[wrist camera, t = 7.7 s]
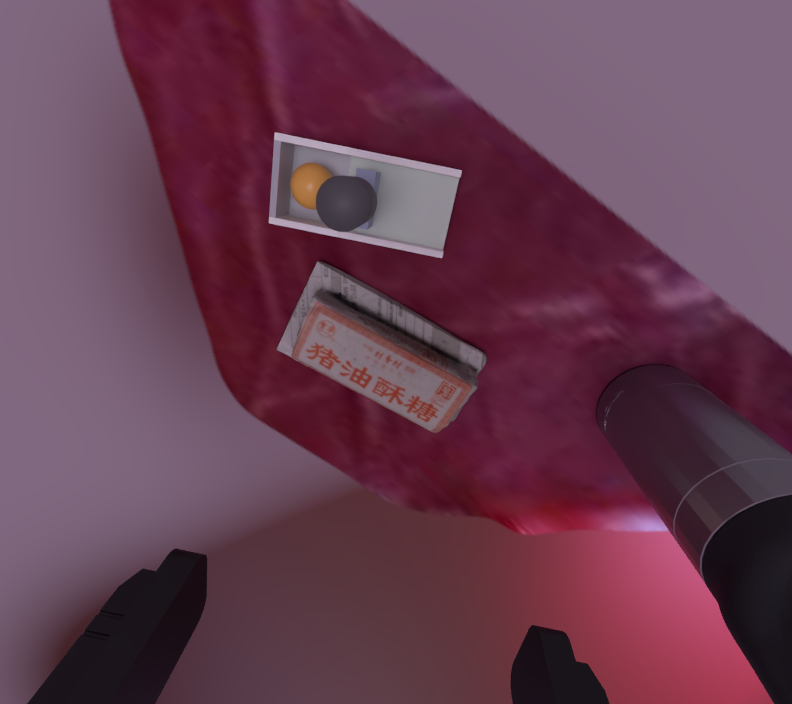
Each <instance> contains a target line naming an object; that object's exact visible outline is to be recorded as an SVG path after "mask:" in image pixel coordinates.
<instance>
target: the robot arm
mask: <svg viewBox="0 0 792 704" xmlns="http://www.w3.org/2000/svg"><path fill="white" fill-rule="evenodd" d="M597 420H598V425H599V427H600V429H601V431H602V432H603V434H604V435H605V437H606V438H607V440H608V441H609V443H610V444H611V446H612V447H613V449H614V450H615V452H616V453H617V455H618V456H619V458H620V459H621V461H622V462H623V464H624V465H625V467H626V468H627V470H628V471H629V472H630V474H631V475H632V477H633V478H634V480H635V481H636V483H637V484H638V486H639V487H640V489H641V490H642V491H643V493H644V494H645V496H646V497H647V499H648V500H649V502H650V503H651V505H652V506H653V508H654V509H655V511H656V512H657V513H658V515H659V516H660V518H661V519H662V521H663V522H664V524H665V525H666V527H667V528H668V530H669V531H670V533H671V534H672V535H673V537H674V538H675V540H676V541H677V543H678V544H679V546H680V547H681V549H682V550H683V551H684V553H685V554H686V556H687V557H688V559H689V560H690V562H691V563H692V564H693V566H694V567H695V569H696V570H697V572H698V573H699V575H700V576H701V578H702V579H703V581H704V582H705V584H706V585H707V587H708V588H709V590H710V591H711V593H712V594H713V596H714V598H715V599H716V600H717V602H718V604H719V608H720V611H721V614H722V616H723V619H724V621H725V623H726V625H727V627H728V629H729V631H730V633H731V634H732V636H733V638H734V639H735V641H736V643H737V644H738V646H739V647H740V649H741V650H742V652H743V653H744V655H745V657H746V658H747V660H748V661H749V663H750V665H751V666H752V668H753V669H754V671H755V673H756V674H757V676H758V678H759V679H760V681H761V683H762V684H763V686H764V688H765V689H766V691H767V693H768V694H769V696H770V698H771V699H772V701H773V702H774V704H792V454H791V453H790V452H789V451H787V450H786V449H785V448H783V447H782V446H781V445H780V444H778V443H777V442H776V441H774V440H773V439H772V438H770V437H769V436H768V435H766V434H765V433H764V432H762V431H761V430H760V429H758V428H757V427H756V426H755V425H753V424H752V423H751V422H749V421H748V420H747V419H745V418H744V417H743V416H741V415H740V414H739V413H737V412H736V411H735V410H733V409H732V408H731V407H729V406H728V405H727V404H725V403H724V402H723V401H721V400H720V399H719V398H717V397H716V396H715V395H714V394H712V393H711V392H710V391H708V390H707V389H706V388H704V387H703V386H701V385H700V384H699V383H697V382H696V381H695V380H693V379H692V378H691V377H689V376H688V375H687V374H685V373H684V372H683V371H681V370H679V369H676V368H674V367H670V366H666V365H647V366H641V367H638V368H635V369H632V370H630V371H628V372H626V373H624V374H622V375H620V376H619V377H618V378H616V379H615V380H614V381H613V382H611V384H610V385H609V386H608V387H607V388H606V389H605V391H604V392H603V394H602V396H601V398H600V400H599V403H598V407H597ZM206 596H207V556H206V555H204V554H199V553H194V552H189V551H185V550H180V549H174V550H172V551H171V552H170V553H169V554H168V556H167V557H166V558H165V560H164V561H163V563H162V564H161V565H160V567H159V568H158V570H157V571H151V570H147V569H142V570H140V571H139V572H138V573H136V574H135V575H134V576H132V577H131V578H130V579H128V580H127V581H126V582H124V583H123V584H122V585H120V586H119V587H118V588H117V590H116V591H115V592H114V593H113V595H112V596H111V597H110V598H109V600H108V601H107V602H106V604H105V605H104V606H103V607H102V609H101V611H100V613H99V614H98V615H96V616H95V618H94V619H93V620H92V622H91V623H90V624H89V625H88V627H87V628H86V629H85V632H84V634H83V635H81V636H80V637H79V638H78V639H77V641H76V642H75V643H74V645H73V646H72V647H71V649H70V650H69V651H68V652H67V654H66V655H65V656H64V657H63V659H62V660H61V661H60V663H59V664H58V665H57V666H56V668H55V669H54V670H53V672H52V673H51V674H50V675H49V677H48V678H47V679H46V681H45V682H44V683H43V684H42V686H41V687H40V688H39V690H38V691H37V692H36V693H35V695H34V696H33V697H32V699H31V700H30V701H29V703H28V704H155V703H156V701H157V699H158V697H159V696H160V694H161V692H162V690H163V688H164V686H165V684H166V682H167V681H168V679H169V677H170V675H171V673H172V671H173V669H174V668H175V666H176V664H177V662H178V660H179V658H180V656H181V654H182V653H183V651H184V649H185V647H186V645H187V643H188V641H189V639H190V638H191V636H192V634H193V632H194V630H195V628H196V626H197V624H198V622H199V620H200V618H201V615H202V612H203V609H204V606H205V602H206ZM511 694H512V700H513V704H609V701H608V699H607V696H606V693H605V690H604V689H603V687H602V686H601V684H600V682H599V681H598V679H597V678H596V676H595V675H594V673H593V671H592V670H591V668H590V667H589V665H588V664H586V663H581V662H576V660H575V657H574V653H573V650H572V647H571V643H570V640H569V638H568V636H567V635H566V633H565V632H563V631H558V630H553V629H549V628H544V627H540V626H535V625H532V626H531V627H530V628H529V630H528V632H527V634H526V636H525V639H524V641H523V643H522V645H521V647H520V649H519V651H518V654H517V655H516V658H515V660H514V662H513V666H512V671H511Z"/></svg>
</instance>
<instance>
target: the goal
mask: <svg viewBox="0 0 792 704" xmlns="http://www.w3.org/2000/svg"><path fill="white" fill-rule="evenodd" d="M348 148H349V147H345V146H340V145H335V144H330V143H325V142H320V141H315V140H310V139H305V138H300V137H296V136H291V135H286V134H281V133H276V132H275V136H274V152H273V167H272V182H271V197H270V212H269V223H271V224H275V225H280V226H285V227H290V228H295V229H300V230H305V231H310V232H315V233H319V234H324V235H329V236H334V237H337V233H338V231H335V230H333V229H331V228H329V227H328V226H326V225H325V224H324V223H323V222H322V220H321V219H320V217H319V215H318V213H317V210H311V209H307V208H305V207H303V206H301V205H300V204H299V203H298V202H297V201H296V200H295V199H294V197H293V195H292V192H291V188H290V181H291V177H292V174H293V172H294V171H295V170H296V169H297V168H298V167H299V166H300V165H302V164H305V163H311V162H312V163H317V164H320V165H322V166H324V167H325V168H326V169H327V170H328V171H329V172H330V173H331V175H332V177H334V176H339V175H343V176H348V175H349V168H350V160H351V156H350V155H348Z"/></svg>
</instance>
